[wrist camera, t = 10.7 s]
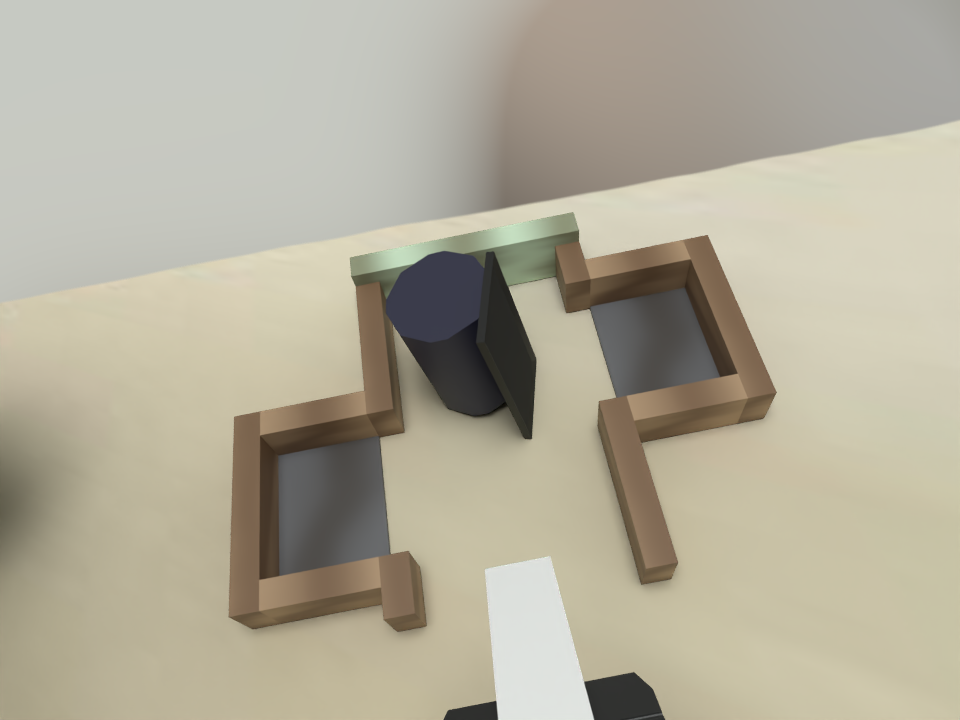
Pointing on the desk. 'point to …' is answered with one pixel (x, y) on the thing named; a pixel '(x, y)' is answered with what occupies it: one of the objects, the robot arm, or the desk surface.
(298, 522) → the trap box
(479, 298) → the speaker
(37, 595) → the desk surface
